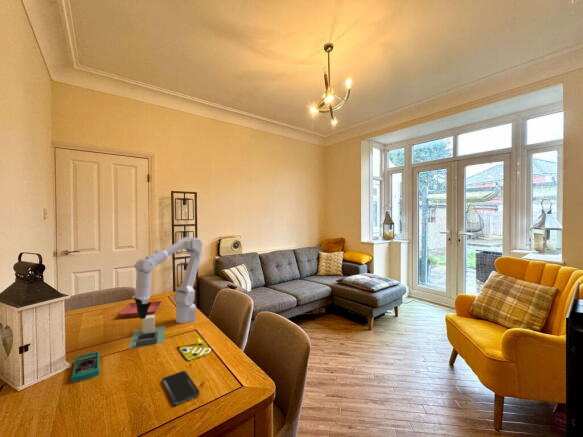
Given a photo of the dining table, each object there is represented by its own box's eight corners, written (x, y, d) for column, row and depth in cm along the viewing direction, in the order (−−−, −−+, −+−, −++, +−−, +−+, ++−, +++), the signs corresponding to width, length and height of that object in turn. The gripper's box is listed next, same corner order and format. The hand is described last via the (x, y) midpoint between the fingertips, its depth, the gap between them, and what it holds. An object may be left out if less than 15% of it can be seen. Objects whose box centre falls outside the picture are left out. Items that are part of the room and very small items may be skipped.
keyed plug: (154, 329, 120) (154, 314, 120) (153, 332, 116) (154, 317, 116) (142, 330, 118) (143, 315, 118) (141, 334, 114) (142, 318, 114)
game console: (172, 345, 108) (172, 342, 108) (197, 337, 116) (197, 334, 116) (188, 363, 95) (188, 359, 95) (215, 353, 103) (215, 349, 103)
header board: (165, 327, 124) (165, 321, 124) (163, 344, 107) (164, 337, 107) (134, 332, 118) (134, 326, 118) (128, 351, 102) (128, 343, 102)
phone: (173, 404, 73) (161, 378, 84) (173, 408, 73) (161, 381, 84) (201, 393, 78) (185, 369, 89) (200, 396, 78) (185, 373, 89)
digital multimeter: (70, 385, 81) (71, 376, 81) (74, 363, 93) (74, 355, 93) (99, 377, 86) (99, 368, 86) (99, 357, 98) (99, 349, 98)
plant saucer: (128, 308, 150) (128, 302, 150) (162, 305, 155) (162, 300, 155) (117, 320, 132) (117, 313, 132) (156, 317, 138) (156, 310, 138)
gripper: (131, 282, 117) (129, 312, 116) (134, 289, 105) (132, 322, 105) (148, 281, 121) (146, 309, 121) (153, 288, 110) (151, 319, 109)
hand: (141, 315), depth 113 cm, fingers open, 7 cm apart
